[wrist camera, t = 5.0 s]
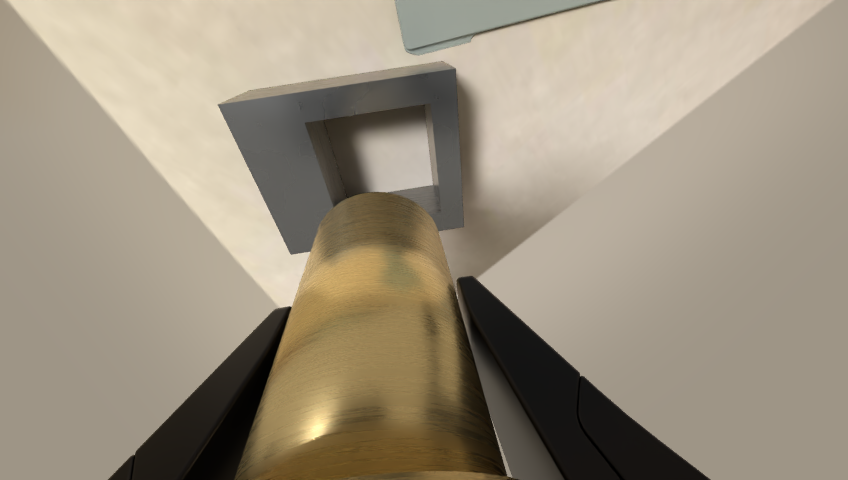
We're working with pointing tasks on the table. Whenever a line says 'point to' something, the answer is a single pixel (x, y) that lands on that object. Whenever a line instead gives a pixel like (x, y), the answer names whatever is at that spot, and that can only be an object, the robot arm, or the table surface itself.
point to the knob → (374, 361)
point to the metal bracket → (466, 19)
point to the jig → (312, 153)
